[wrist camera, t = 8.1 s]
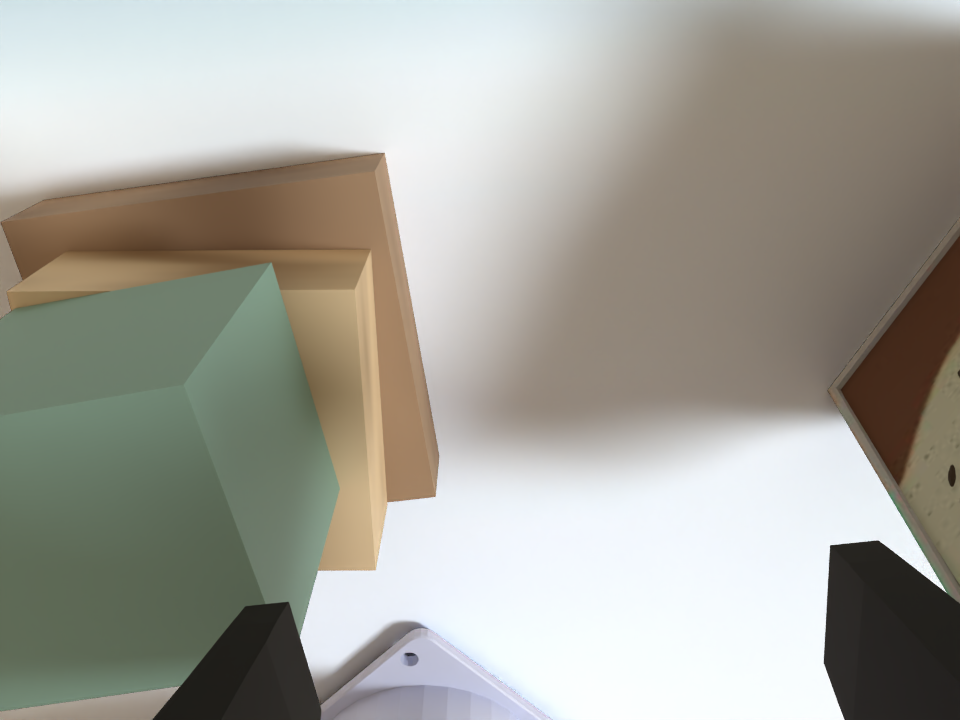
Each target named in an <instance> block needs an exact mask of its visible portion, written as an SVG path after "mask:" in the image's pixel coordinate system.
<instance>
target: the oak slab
mask: <svg viewBox="0 0 960 720" xmlns="http://www.w3.org/2000/svg"><path fill="white" fill-rule="evenodd" d="M270 262H272V266H273V269H274V272H275V275H276V279H277V282H278V285H279V289H280V292H281V295H282V299H283V302H284V305H285V308H286V312H287V315H288V318H289V322H290V325H291V328H292V332H293V335H294V338H295V341H296V345H297V348H298V351H299V355H300V358H301V361H302V364H303V368H304V371H305V374H306V378H307V381H308V384H309V388H310V391H311V394H312V397H313V401H314V404H315V407H316V411H317V414H318V417H319V420H320V424H321V427H322V430H323V434H324V437H325V440H326V444H327V447H328V450H329V453H330V457H331V460H332V463H333V467H334V470H335V473H336V477H337V480H338V483H339V487H340V490H339V494H338V498H337V501H336V505H335V509H334V513H333V516H332V520H331V524H330V527H329V531H328V535H327V538H326V542H325V546H324V549H323V553H322V557H321V560H320V564H319V568H318V571H321V570H376V565H377V559H378V554H379V548H380V543H381V537H382V532H383V526H384V520H385V515H386V509H387V491H386V476H385V460H384V444H383V428H382V412H381V397H380V381H379V365H378V350H377V334H376V318H375V303H374V287H373V271H372V255H371V249H352V250H183V251H66V252H65V253H63V254H62V255H60V256H59V257H57V258H56V259H54V260H53V261H51V262H50V263H48V264H47V265H45V266H44V267H42V268H41V269H39V270H38V271H36V272H35V273H33V274H32V275H30V276H29V277H27V278H26V279H24V280H23V281H21V282H20V283H19V284H17V285H16V286H14V287H13V288H11V289H10V290H8V291H7V296H8V300H9V303H10V307H11V311H12V310H13V309H15V308H20V307H26V306H32V305H37V304H43V303H48V302H54V301H59V300H65V299H70V298H76V297H81V296H87V295H93V294H98V293H104V292H109V291H115V290H120V289H126V288H131V287H137V286H142V285H148V284H154V283H159V282H165V281H170V280H176V279H181V278H187V277H192V276H198V275H203V274H209V273H215V272H220V271H226V270H231V269H237V268H242V267H248V266H253V265H259V264H264V263H270Z"/></svg>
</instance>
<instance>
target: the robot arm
mask: <svg viewBox="0 0 960 720" xmlns="http://www.w3.org/2000/svg"><path fill="white" fill-rule="evenodd" d="M405 653H414V654H416V655H415V656H407V655H405ZM824 665H825V667H826V670H827V673H828V676H829V679H830V681H831V684H832V687H833V690H834V692H835V695H836V698H837V701H838V704H839V706H840V709H841V711H842V714H843V717H844V719H845V720H960V603H959V602H957V601H956V600H955V599H954V598H952V597H951V596H950V595H948V594H947V593H946V592H944V591H943V590H942V589H940V588H939V587H938V586H937V585H935V584H934V583H933V582H931V581H930V580H929V579H928V578H926V577H925V576H924V575H922V574H921V573H920V572H919V571H917V570H916V569H915V568H914V567H912V566H911V565H910V564H908V563H907V562H906V561H905V560H903V559H902V558H901V557H899V556H898V555H897V554H895V553H894V552H893V551H892V550H890V549H889V548H888V547H886V546H885V545H884V544H882V543H881V542H880V541H868V542H859V543H849V544H839V545H830V559H829V577H828V596H827V614H826V632H825V650H824ZM153 720H552V719H551V718H549V717H548V716H547V715H545V714H544V713H543V712H541V711H540V710H539V709H537V708H536V707H535V706H533V705H532V704H530V703H529V702H528V701H526V700H525V699H524V698H522V697H521V696H520V695H518V694H517V693H516V692H514V691H513V690H512V689H510V688H509V687H508V686H506V685H505V684H503V683H502V682H501V681H499V680H498V679H497V678H495V677H494V676H493V675H491V674H490V673H489V672H487V671H486V670H485V669H483V668H482V667H481V666H479V665H478V664H477V663H475V662H474V661H472V660H471V659H470V658H468V657H467V656H466V655H464V654H463V653H462V652H460V651H459V650H458V649H456V648H455V647H454V646H452V645H451V644H450V643H448V642H447V641H445V640H444V639H443V638H441V637H440V636H439V635H437V634H436V633H435V632H433V631H431V630H429V629H425V628H418V629H414V630H412V631H410V632H409V633H408V634H406V635H405V636H404V637H403V638H401V639H400V640H399V641H398V642H397V643H395V644H394V645H393V646H392V647H391V648H389V649H388V650H387V651H386V652H384V653H383V654H382V655H381V656H380V657H378V658H377V659H376V660H375V661H374V662H372V663H371V664H370V665H369V666H367V667H366V668H365V669H364V670H363V671H361V672H360V673H359V674H358V675H357V676H355V677H354V678H353V679H352V680H351V681H349V682H348V683H347V684H346V685H344V686H343V687H342V688H341V689H340V690H338V691H337V692H336V693H335V694H334V695H332V696H331V697H330V698H329V699H327V700H326V701H325V702H324V703H323V704H321V705H320V704H319V700H318V697H317V694H316V690H315V687H314V684H313V680H312V677H311V674H310V670H309V667H308V664H307V660H306V657H305V654H304V650H303V647H302V644H301V640H300V637H299V634H298V630H297V627H296V624H295V620H294V617H293V614H292V610H291V607H290V604H289V602H280V603H271V604H261V605H251V606H245V607H244V608H243V610H242V611H241V612H240V613H239V614H238V616H237V617H236V618H235V619H234V620H233V622H232V623H231V624H230V625H229V626H228V628H227V629H226V630H225V631H224V633H223V634H222V635H221V636H220V637H219V639H218V640H217V641H216V642H215V644H214V645H213V646H212V647H211V649H210V650H209V651H208V652H207V654H206V655H205V656H204V657H203V659H202V660H201V661H200V662H199V664H198V665H197V666H196V667H195V669H194V670H193V671H192V672H191V674H190V675H189V676H188V677H187V679H186V680H185V681H184V682H183V684H182V685H181V686H180V687H179V688H178V690H177V691H176V692H175V693H174V694H173V696H172V697H171V698H170V699H169V700H168V702H167V703H166V704H165V705H164V706H163V708H162V709H161V710H160V711H159V712H158V714H157V715H156V716H155V717H154V718H153Z"/></svg>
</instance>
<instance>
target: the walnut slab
mask: <svg viewBox="0 0 960 720" xmlns="http://www.w3.org/2000/svg"><path fill="white" fill-rule="evenodd" d="M1 224H2V227H3V230H4V232H5V235H6V238H7V240H8V243H9V245H10V248H11V251H12V253H13V256H14V259H15V261H16V264H17V266H18V269H19V272H20V274H21V277H22V279H23V280H24V279H26V278H27V277H29V276H30V275H32V274H33V273H35V272H36V271H38V270H39V269H41V268H42V267H44V266H45V265H47V264H48V263H50V262H51V261H53V260H54V259H56V258H57V257H59V256H60V255H62V254H63V253H65V252H66V251H183V250H352V249H371V255H372V271H373V287H374V303H375V318H376V334H377V350H378V365H379V381H380V397H381V412H382V428H383V444H384V460H385V476H386V491H387V502H394V501H403V500H411V499H420V498H429V497H436V486H437V475H438V464H439V452H438V446H437V441H436V435H435V430H434V424H433V419H432V413H431V407H430V402H429V396H428V391H427V385H426V380H425V374H424V369H423V363H422V358H421V352H420V347H419V341H418V335H417V330H416V324H415V319H414V313H413V308H412V302H411V297H410V291H409V286H408V280H407V274H406V269H405V263H404V258H403V252H402V247H401V241H400V236H399V230H398V225H397V219H396V214H395V208H394V202H393V197H392V191H391V186H390V180H389V175H388V169H387V164H386V158H385V153H381V154H374V155H367V156H359V157H352V158H345V159H338V160H330V161H323V162H316V163H309V164H301V165H294V166H287V167H280V168H272V169H265V170H258V171H251V172H243V173H236V174H229V175H222V176H214V177H207V178H200V179H193V180H185V181H178V182H171V183H164V184H156V185H149V186H142V187H135V188H127V189H120V190H113V191H106V192H98V193H91V194H84V195H77V196H69V197H62V198H55V199H48V200H43V201H41V202H39V203H37V204H35V205H33V206H31V207H29V208H27V209H26V210H24V211H22V212H20V213H18V214H16V215H14V216H12V217H10V218H8V219H6V220H4V221H2V222H1Z"/></svg>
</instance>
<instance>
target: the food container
mask: <svg viewBox="0 0 960 720" xmlns="http://www.w3.org/2000/svg"><path fill="white" fill-rule="evenodd" d="M828 392H829V394H830V396H831V397H832V399H833V401H834V402H835V404H836V406H837V407H838V409H839V411H840V412H841V414H842V416H843V418H844V419H845V421H846V423H847V424H848V426H849V428H850V429H851V431H852V433H853V435H854V436H855V438H856V440H857V441H858V443H859V445H860V446H861V448H862V450H863V451H864V453H865V455H866V457H867V458H868V460H869V462H870V463H871V465H872V467H873V468H874V470H875V472H876V474H877V475H878V477H879V479H880V480H881V482H882V484H883V485H884V487H885V489H886V490H887V492H888V494H889V496H890V497H891V499H892V501H893V502H894V504H895V506H896V507H897V509H898V511H899V512H900V514H901V516H902V518H903V519H904V521H905V523H906V524H907V526H908V528H909V529H910V531H911V533H912V535H913V536H914V538H915V540H916V541H917V543H918V545H919V546H920V548H921V550H922V551H923V553H924V555H925V557H926V558H927V560H928V562H929V563H930V565H931V567H932V568H933V570H934V572H935V574H936V575H937V577H938V579H939V580H940V582H941V584H942V585H943V587H944V589H945V590H946V592H947V594H948V595H950V596H951V597H952V598H954V599H955V600H956V601H957V602H959V603H960V218H959V219H958V220H957V222H956V223H955V224H954V226H953V227H952V228H951V230H950V231H949V232H948V234H947V235H946V236H945V237H944V239H943V240H942V241H941V243H940V244H939V245H938V247H937V248H936V249H935V251H934V252H933V253H932V254H931V256H930V257H929V258H928V260H927V261H926V262H925V264H924V265H923V266H922V268H921V269H920V270H919V271H918V273H917V274H916V275H915V277H914V278H913V279H912V281H911V282H910V283H909V285H908V286H907V287H906V288H905V290H904V291H903V292H902V294H901V295H900V296H899V298H898V299H897V300H896V302H895V303H894V304H893V305H892V307H891V308H890V309H889V311H888V312H887V313H886V315H885V316H884V317H883V319H882V320H881V321H880V322H879V324H878V325H877V326H876V328H875V329H874V330H873V332H872V333H871V334H870V336H869V337H868V338H867V339H866V341H865V342H864V343H863V345H862V346H861V347H860V349H859V350H858V351H857V353H856V354H855V355H854V356H853V358H852V359H851V360H850V362H849V363H848V364H847V366H846V367H845V368H844V370H843V371H842V372H841V373H840V375H839V376H838V377H837V379H836V380H835V381H834V383H833V384H832V385H831V387H830V388H829V389H828Z"/></svg>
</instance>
